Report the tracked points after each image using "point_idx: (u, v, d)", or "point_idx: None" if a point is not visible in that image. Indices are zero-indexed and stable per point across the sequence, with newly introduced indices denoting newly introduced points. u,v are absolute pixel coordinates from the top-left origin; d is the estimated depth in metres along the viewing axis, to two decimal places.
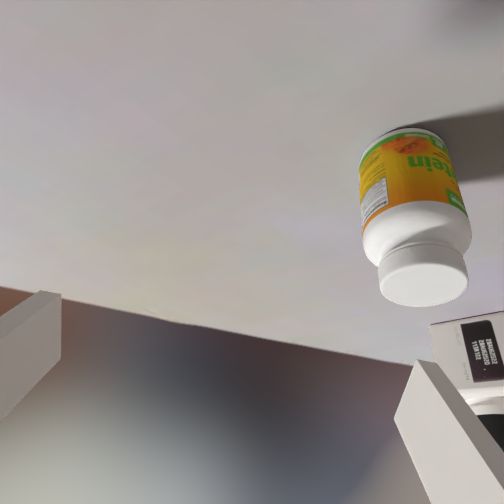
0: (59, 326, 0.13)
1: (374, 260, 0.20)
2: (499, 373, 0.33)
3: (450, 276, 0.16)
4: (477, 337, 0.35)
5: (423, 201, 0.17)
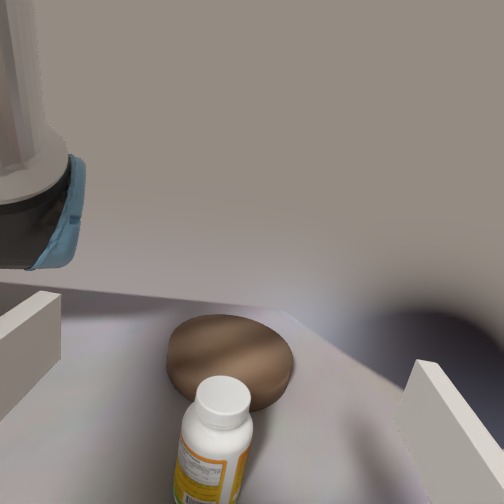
0: (59, 326, 0.13)
1: (211, 440, 0.24)
2: None
3: (220, 379, 0.27)
4: None
5: None
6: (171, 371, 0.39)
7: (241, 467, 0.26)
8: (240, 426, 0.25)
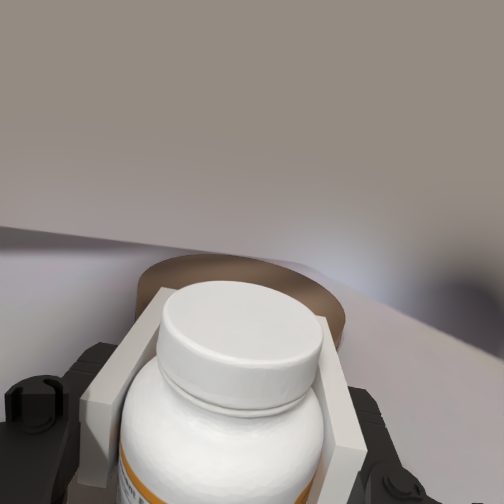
0: None
1: (206, 453, 0.07)
2: None
3: (233, 287, 0.10)
4: None
5: None
6: None
7: None
8: (294, 410, 0.08)
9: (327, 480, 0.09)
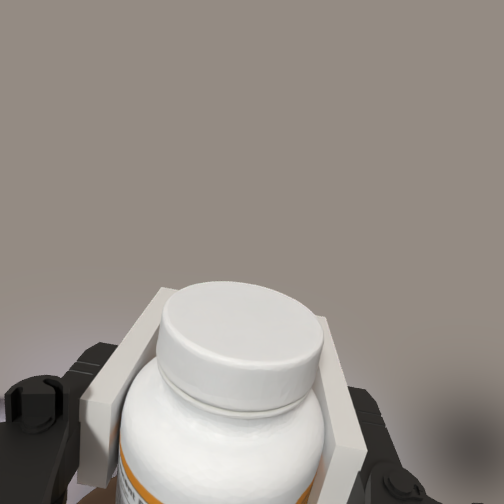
0: None
1: (206, 455, 0.07)
2: None
3: (233, 288, 0.10)
4: None
5: None
6: None
7: None
8: (294, 411, 0.08)
9: (327, 480, 0.09)
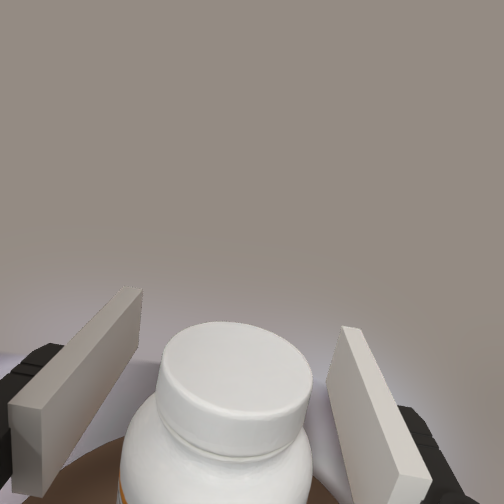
0: (139, 318, 0.14)
1: (200, 497, 0.08)
2: None
3: (229, 329, 0.10)
4: None
5: None
6: None
7: None
8: (284, 452, 0.09)
9: None
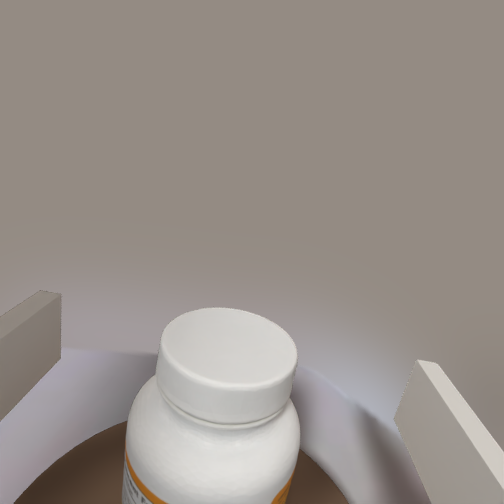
0: (59, 326, 0.13)
1: (196, 460, 0.09)
2: None
3: (222, 314, 0.11)
4: None
5: None
6: None
7: None
8: (272, 422, 0.10)
9: None
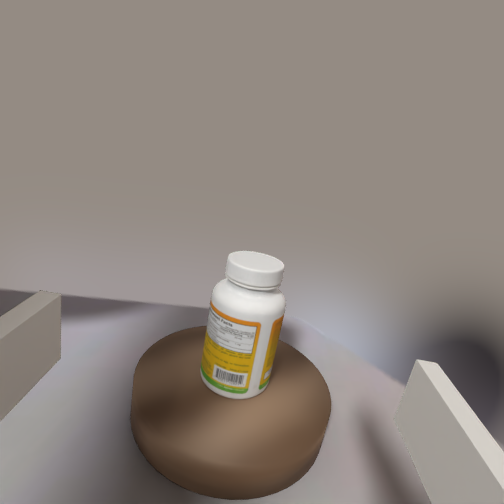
0: (59, 326, 0.13)
1: (244, 301, 0.23)
2: None
3: (251, 253, 0.26)
4: None
5: None
6: (135, 422, 0.24)
7: (274, 339, 0.24)
8: (273, 294, 0.24)
9: None
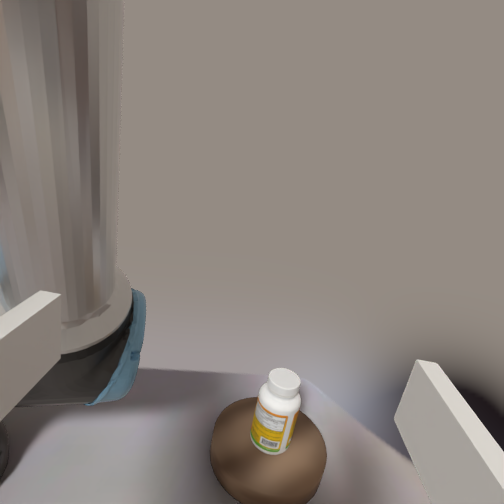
0: (59, 326, 0.13)
1: (279, 404, 0.42)
2: None
3: (281, 370, 0.44)
4: None
5: None
6: (217, 469, 0.43)
7: (294, 422, 0.43)
8: (294, 397, 0.43)
9: None
